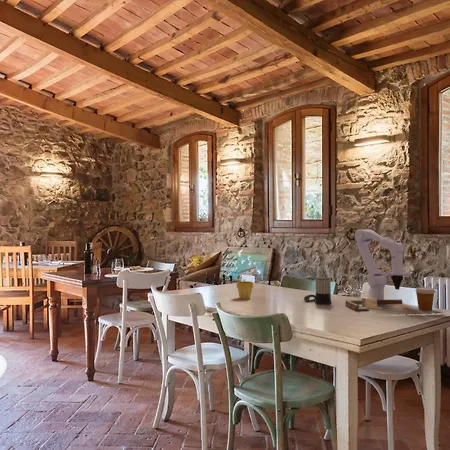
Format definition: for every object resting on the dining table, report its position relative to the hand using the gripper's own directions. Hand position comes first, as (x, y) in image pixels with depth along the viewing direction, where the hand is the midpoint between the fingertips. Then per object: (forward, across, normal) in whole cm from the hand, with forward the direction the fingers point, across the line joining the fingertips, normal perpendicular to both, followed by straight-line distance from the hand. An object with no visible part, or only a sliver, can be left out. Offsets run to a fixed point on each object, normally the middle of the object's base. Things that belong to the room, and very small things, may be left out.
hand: (397, 289), depth 249 cm
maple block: (+8, -18, -4) cm, 20 cm away
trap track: (+9, -12, -4) cm, 15 cm away
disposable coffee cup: (+10, +8, -16) cm, 20 cm away
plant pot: (+10, -80, +37) cm, 89 cm away
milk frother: (+10, -40, +16) cm, 45 cm away
